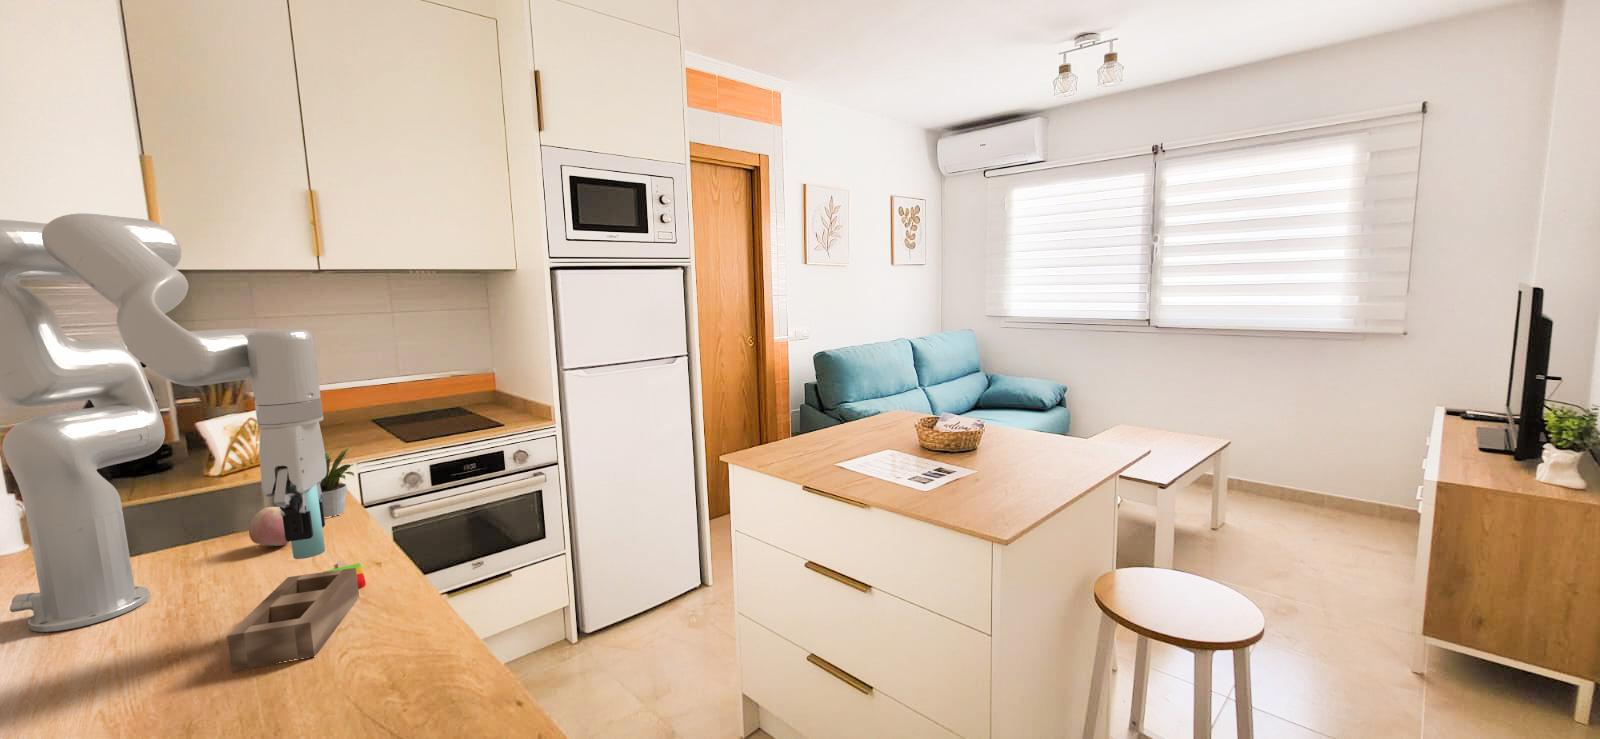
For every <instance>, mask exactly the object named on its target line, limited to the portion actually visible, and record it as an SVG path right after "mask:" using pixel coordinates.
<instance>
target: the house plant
mask: <svg viewBox="0 0 1600 739" xmlns="http://www.w3.org/2000/svg"><path fill="white" fill-rule="evenodd" d="M326 446H327V443H325V444H324V449H325V456H326V465H327V474H326V476H325V478H324V479H322V481H321V484H322V485H321V492H322V501H319V502H322V504H323V511H324V517H329V516H335V515H338V514H341V513H343V512H344V511H345V512H346V500H347V499H346V498H347V488H348V485H347V484H346V483H342V482H340V480H341V478H342V479H344V480H347V479H346V475H345V474H347V475H351V476H353V478H356V477H355V473H354V472H353V471H347V470H349V469H350V468H351V467H353V466H354V464H353V463H352V464H348V463H347V464H344V465H341V466H340V464H341V462H342V460H344V459H345V457H346V456H347V455H349V454H350V453H352V452H354V450H352V451H350V452H349V453H347V451H348V450H349V449H350V448H352V445H350V446H348V447H345V448H344V449H342V451H341V452H340V453H339V454H338V455H337V457H335V456H334V457H331V458H330V455H331V454H332V453H333V452H334V451H335V450H336V449H337V448H338V446H337V447H335V448H334V449H333V450H332V451H331V452H330V453H328V451H327V450H326ZM346 453H347V454H346ZM332 459H335V460H334V461H333V460H332ZM331 462H333V463H332V467H331V469H330V464H331ZM339 466H340V467H339ZM345 512H344V513H345ZM344 513H343V514H344Z"/></svg>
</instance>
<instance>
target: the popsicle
mask: <svg viewBox="0 0 1600 739" xmlns="http://www.w3.org/2000/svg"><path fill="white" fill-rule="evenodd" d="M350 568H356V573H357V582H358V590H361V589H363V588H364V587H366V586H367V585H366V579H365V575H364V570H363V566H362V564H361V563H360V562H359V563H354V564H349V565H345V560H343V559H342V560H338V561H337V568H332V569H328V570H324V571H323V572H328V571H336V570H343V569H350Z"/></svg>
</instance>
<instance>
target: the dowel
mask: <svg viewBox="0 0 1600 739" xmlns="http://www.w3.org/2000/svg"><path fill="white" fill-rule="evenodd" d="M296 489H297V488H292V489H290V490H289V493H290V492H297V491H296ZM291 499H296V500H297V501H298V503H299V500H298V496H297V497H291ZM306 503H307V511H310V514H311V521H312V529H313V536H312V537H311V538H310V539H303V540H296V541H290V544H291V550H292V557H293V559H294V560H303V559H310V558H313V557H316V556H320V555H321V554H323V553H325V551H326V547H325V546H326V545H325V539H324V531H323V528H322V522H321V514H320V506H319V499H318V491H317V484H315V485H314V486H312V487H311V488H310V489H308V490H307V491H306Z"/></svg>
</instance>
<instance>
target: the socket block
mask: <svg viewBox="0 0 1600 739" xmlns="http://www.w3.org/2000/svg"><path fill="white" fill-rule="evenodd" d="M359 598H360V592H359V589H358V582H357V573H356V568H350V569H343V570H336V571H328V572H324V571H323V572H322V571H320V572H315V573H308V574H307V573H306V574H300V575H292V576H288V577H287V578H285V579H284V580H283V581H282V582H281V583H280V584H279V585H278V586H277V587H276V588H275V589H274V590H273V591H272V592H271V593H270V594H268V596H266V598H265V599H264V600H262V601H261V602H260V603H259V604H258V605H257V606H256V607H255V608H254V609H253V610H252V611H251V612H250V613H249V614H248V615H246V616H245V617H244V618H243V619H242V620H241V621H240V622H239V623H238V624H237V625H236V626H235V627H234V628H233V629H232V630H231V631H229V632H228V633H227V634H226V639H227V640H226V641H227V649H228V655H229V663H230V669H231V672H232V673H233V671H234V672H238V670H239V671H243V670H251V669H256V668H255V667H257V668H262V667H267V666H266V665H268V666H272V665H271V664H274V665H277V664H276V663H279V662H284V661H289V660H294V659H301V658H307V657H314V656H315V655H316V654H317V655H318V654H319V652H320V651H321V650H322V648H323V647H324V645H325V644H326V643H327V641H329V639H330V637H331V636H332V635H333V633H334V632H335V630H337V628H338V626H339V625H340V624H341V623H342V622H343V620H344V619H345V617H346V616H347V614H348V613H349V612H350V611H351V609H352V607H354V605H355V604H356V602H357V601H358V600H359ZM317 655H316V656H317ZM316 656H315V657H316ZM315 657H314V658H315Z"/></svg>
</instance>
